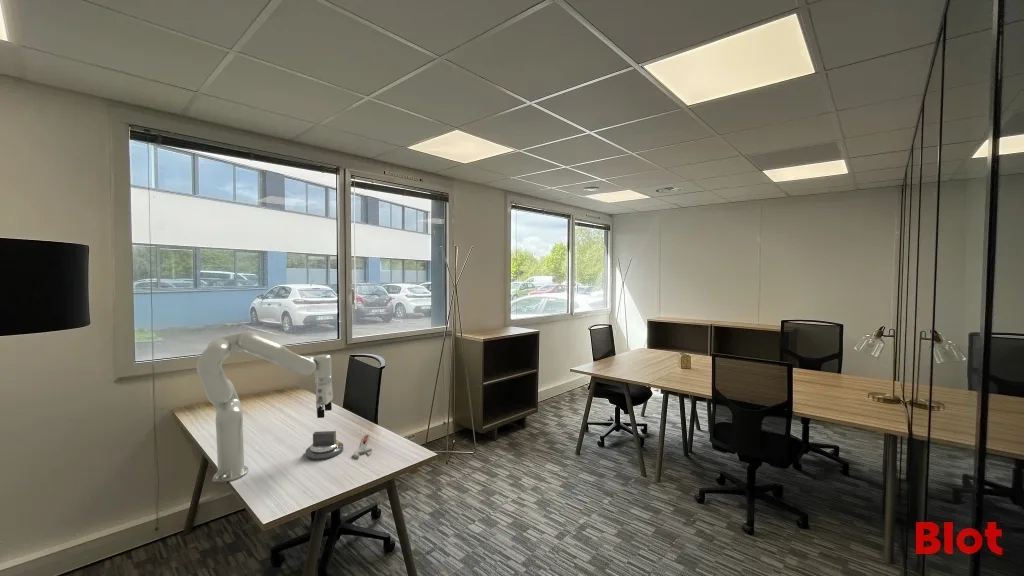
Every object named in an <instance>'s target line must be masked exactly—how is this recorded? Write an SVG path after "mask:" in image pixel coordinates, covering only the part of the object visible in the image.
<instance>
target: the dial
mask: <svg viewBox="0 0 1024 576" xmlns="http://www.w3.org/2000/svg"><path fill="white" fill-rule="evenodd" d="M339 442H340V441H339V440H338V439H337V431H336V430H327V431H324V430H323V431H314V433H312V444H310V446H309V447H310V451H311V452H312V453H326V452H330V451H333V450H335V449H336V448H338V446H339V444H342V443H343V442H341V443H339Z"/></svg>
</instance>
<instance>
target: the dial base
mask: <svg viewBox="0 0 1024 576" xmlns="http://www.w3.org/2000/svg"><path fill="white" fill-rule="evenodd" d="M339 443H342V444H339V446H338V448H336V449H335V450H333V451H330V452H326V453H312V452H311V451H310V446H308V447H307V448H306V449H305V457H306V458H307V460H310V461H324V460H325V461H326V460H328V459H332V458H335V457H337V456H339V455H340V454H342V453H343V451H344V443H343V442H341V441H339Z"/></svg>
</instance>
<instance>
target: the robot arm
mask: <svg viewBox="0 0 1024 576" xmlns="http://www.w3.org/2000/svg"><path fill="white" fill-rule="evenodd" d="M240 352H245V353H247V354H249V355H252V356H255V357H258V358H260V359H263V360H266V361H268V362H271V363H272V364H275V365H277V366H280V367H283V368H284V369H287V370H290V371H291V372H295V373H297V374H299V375H302V376H310V375H312V374H313V373H314V384H315V386H316V388H315V405H316V418H317V419H324V418H325V412H327V411H332V410H333V408H332V407H333V405H332V401H333V399H334V395H333V394H334V392H333V390H334V389H333V383H332V382H333V377H332V376H333V375H332V374H333V373H332V357H331V355H330V354H324V353H323V354H319V355H303V356H302V355H299V354H297V353H295V352H293V351H291V350H290V349H288V348H287V347H286V346H284V345H282V344H280V343H278V342H276V341H272V340H270V339H268V338H265V337H262V336H260V335H258V333H256V332H255V331H251V330H250V331H249V330H247V331H243V332H239V333H235V334H231V335H227V336H223V337H220V338H219V337H218V338H216V339H213V340H212V341H211V342H209V343H208V345H207V348H206V349H204V351H203V352H202V353H201V354H200V355H199V356H198V359H197V362H196V372H197V374H198V377H199V379H200V382H201V385H202V387H203V389H204V393H205V395H206V398H207V400H208V401H209V402H210V403H211V404H212V405H213V407H214V410H215V433H216V437H215V438H216V454H217V456H216V457H217V458H216V459H217V470H216V473H215V474H214V475H213V477H212V479H211V481H212V482H217V483H224V482H225V483H226V482H231V481H234V480H237V479H239V478H242V477H243V476H245V475H247V474H248V472H249V467H248V466H247V465H245V453H244V452H245V450H244V425H243V423H244V421H243V420H244V414H243V413H244V412H243V405H242V403H241V400H240V398H239V396H238V392H237V391H236V388H235V386H234V383H233V382H232V381H231V380H230V379H229V378H227V376H226V373H225V370H224V369H223V366H222V365H223V362H224V361H225V360H226V359H227V358H228V357H229V356H230V355H232V354H236V353H240Z"/></svg>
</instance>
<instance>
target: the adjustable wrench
mask: <svg viewBox="0 0 1024 576" xmlns="http://www.w3.org/2000/svg"><path fill="white" fill-rule="evenodd" d="M369 440H370V434H364V435H363V437H362V440H361V442H360V446H359V448H358V449H357V450H355V451H353V457H354V458H355V457H356V458H355V459H357V458H359V459H360V456H361V455H360V454H362V455H364V454H363V453H366V454H367V455H368V456H370V455H371V454H372V453H373V448H372V447H367V445H368V442H369ZM363 443H364V444H363Z"/></svg>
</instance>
